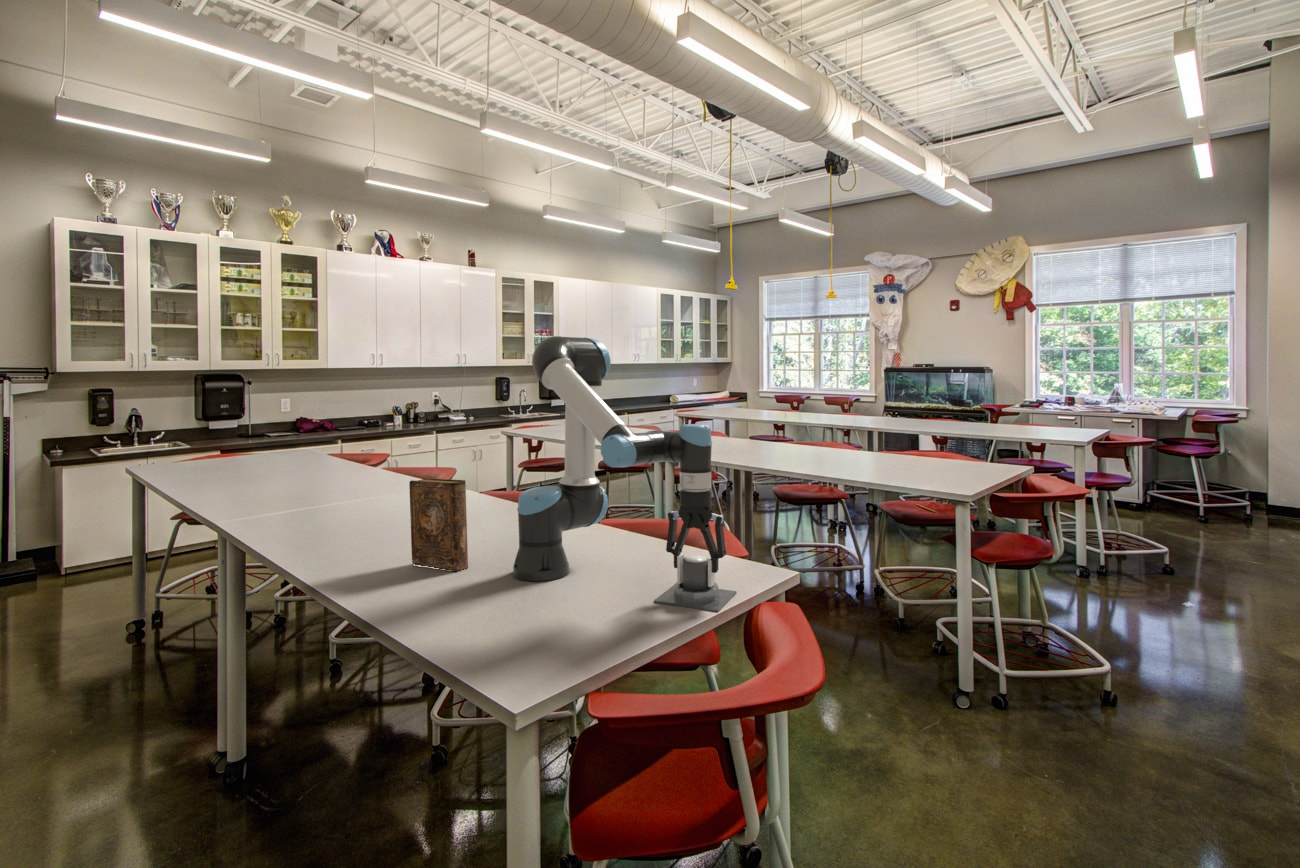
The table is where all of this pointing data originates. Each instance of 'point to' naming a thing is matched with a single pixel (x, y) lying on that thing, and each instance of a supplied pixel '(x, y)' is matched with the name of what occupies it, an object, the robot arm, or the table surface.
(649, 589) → the table surface
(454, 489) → the book
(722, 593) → the barrel mount
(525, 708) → the table surface
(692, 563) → the lens barrel
